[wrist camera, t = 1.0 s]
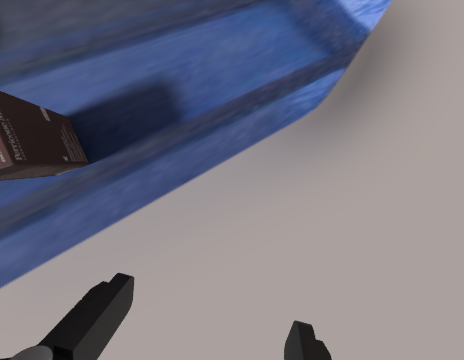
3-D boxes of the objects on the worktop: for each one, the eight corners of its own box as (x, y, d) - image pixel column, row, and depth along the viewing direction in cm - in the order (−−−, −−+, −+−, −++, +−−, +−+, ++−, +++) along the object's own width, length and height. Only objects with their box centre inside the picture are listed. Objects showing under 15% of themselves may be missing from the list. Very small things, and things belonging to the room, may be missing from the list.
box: (93, 163, 27) (14, 166, 15) (54, 176, 26) (-61, 190, 14) (72, 114, 26) (-31, 75, 14) (31, 126, 25) (-112, 96, 13)
